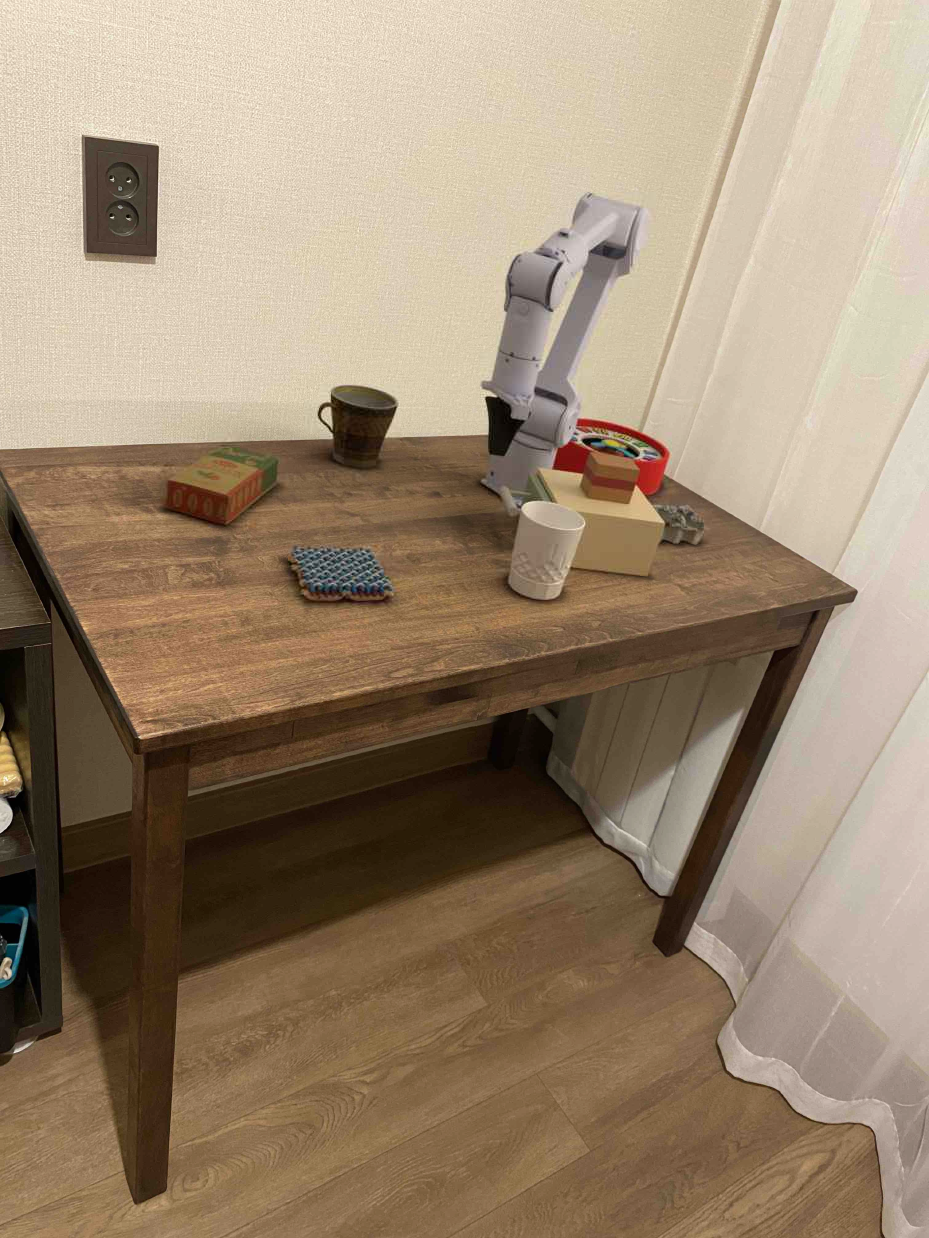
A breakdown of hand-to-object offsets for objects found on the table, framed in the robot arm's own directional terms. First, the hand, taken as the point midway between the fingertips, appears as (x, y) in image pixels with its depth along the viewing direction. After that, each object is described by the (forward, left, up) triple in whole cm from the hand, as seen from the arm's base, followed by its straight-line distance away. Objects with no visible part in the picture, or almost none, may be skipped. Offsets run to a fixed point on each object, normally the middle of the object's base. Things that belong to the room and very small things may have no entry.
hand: (496, 453), depth 123 cm
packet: (+11, +12, -2) cm, 16 cm away
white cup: (+17, -5, -11) cm, 21 cm away
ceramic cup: (-24, -7, -11) cm, 27 cm away
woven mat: (+8, -28, -11) cm, 31 cm away
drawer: (+8, +7, -9) cm, 15 cm away
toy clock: (-12, +38, -11) cm, 41 cm away
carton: (-16, -31, -11) cm, 36 cm away
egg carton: (+10, +29, -11) cm, 32 cm away
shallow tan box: (+10, +11, -10) cm, 18 cm away
